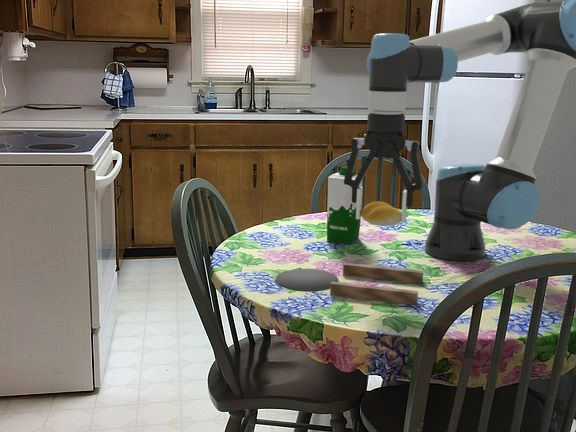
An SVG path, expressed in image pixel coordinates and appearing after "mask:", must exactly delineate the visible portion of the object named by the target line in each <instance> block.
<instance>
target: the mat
mask: <svg viewBox="0 0 576 432" xmlns="http://www.w3.org/2000/svg"><path fill="white" fill-rule="evenodd" d="M275 281H276V283H277V284H278V285H279V286H281V287H283V288H286V289H290V290H295V291H301V292H302V291H303V292H305V291H306V292H318V291H324V290H329V289H330V284H331V282H332V281H333V282H339V278H338V276H337V275H336V274H333V273H332V272H329V271H325V270H321V269H315V268H295V269H293V268H292V269H289V270H285V271H282V272H280V273H278V274H277V275H276V277H275Z"/></svg>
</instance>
